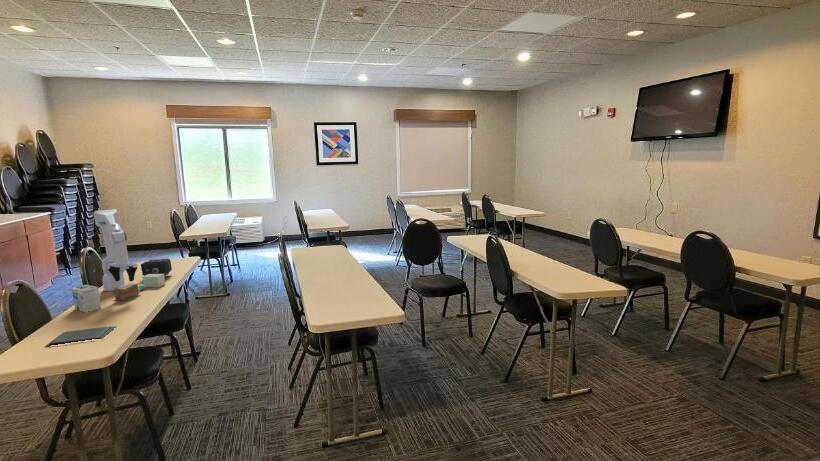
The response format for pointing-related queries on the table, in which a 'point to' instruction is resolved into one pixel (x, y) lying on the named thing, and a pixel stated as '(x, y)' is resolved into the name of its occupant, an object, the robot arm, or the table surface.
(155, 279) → the sage cover
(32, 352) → the table surface
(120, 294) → the brown box
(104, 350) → the table surface
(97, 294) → the light bulb box
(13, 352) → the table surface
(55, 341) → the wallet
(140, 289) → the marble
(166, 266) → the camera
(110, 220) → the robot arm
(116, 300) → the slate mat
